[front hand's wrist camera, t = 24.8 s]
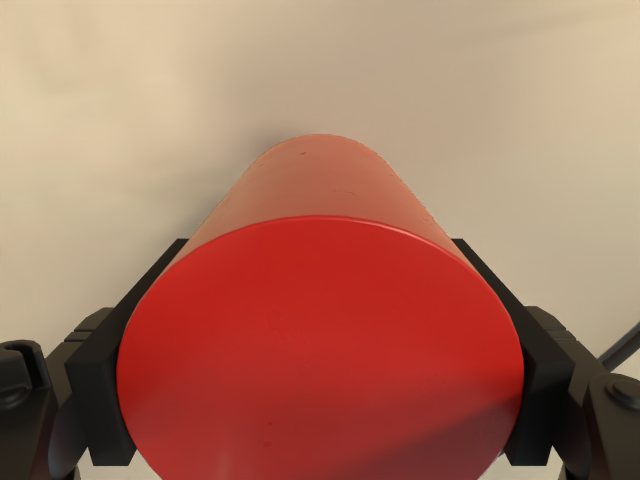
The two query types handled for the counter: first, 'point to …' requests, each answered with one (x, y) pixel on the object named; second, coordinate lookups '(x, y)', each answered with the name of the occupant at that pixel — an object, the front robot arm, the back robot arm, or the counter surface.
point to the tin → (320, 335)
